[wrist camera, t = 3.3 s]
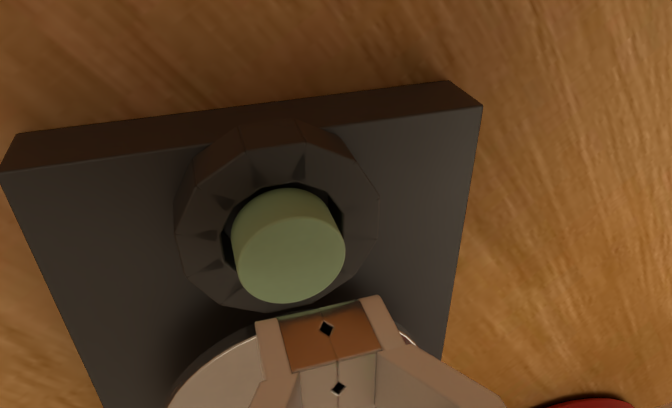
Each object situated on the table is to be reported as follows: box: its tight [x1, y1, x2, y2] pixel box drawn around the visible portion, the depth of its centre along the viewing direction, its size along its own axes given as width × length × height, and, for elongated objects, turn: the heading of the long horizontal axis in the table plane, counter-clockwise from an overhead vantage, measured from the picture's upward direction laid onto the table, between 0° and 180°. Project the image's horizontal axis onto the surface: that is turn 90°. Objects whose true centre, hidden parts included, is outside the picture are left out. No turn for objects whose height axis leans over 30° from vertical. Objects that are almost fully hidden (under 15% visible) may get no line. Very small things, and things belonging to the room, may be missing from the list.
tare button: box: [231, 188, 345, 304], centre depth 14 cm, size 3×3×2 cm
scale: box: [0, 80, 483, 408], centre depth 19 cm, size 16×14×4 cm
